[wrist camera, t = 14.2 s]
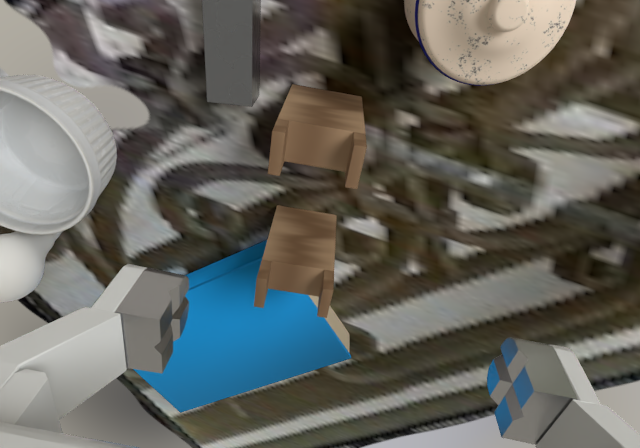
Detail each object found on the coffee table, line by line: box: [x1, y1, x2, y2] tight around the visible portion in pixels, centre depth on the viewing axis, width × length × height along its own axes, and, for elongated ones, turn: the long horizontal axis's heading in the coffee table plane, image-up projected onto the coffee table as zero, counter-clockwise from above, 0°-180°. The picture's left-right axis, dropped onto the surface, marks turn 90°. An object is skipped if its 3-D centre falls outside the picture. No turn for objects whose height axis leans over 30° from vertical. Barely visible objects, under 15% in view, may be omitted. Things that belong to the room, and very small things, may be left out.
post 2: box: [254, 205, 336, 318], centre depth 39 cm, size 6×3×11 cm, turn 81°
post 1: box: [268, 84, 367, 189], centre depth 33 cm, size 6×3×11 cm, turn 81°
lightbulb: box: [0, 231, 62, 303], centre depth 41 cm, size 6×6×11 cm
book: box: [133, 240, 351, 413], centre depth 51 cm, size 17×4×25 cm
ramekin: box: [0, 75, 117, 235], centre depth 37 cm, size 13×13×7 cm
